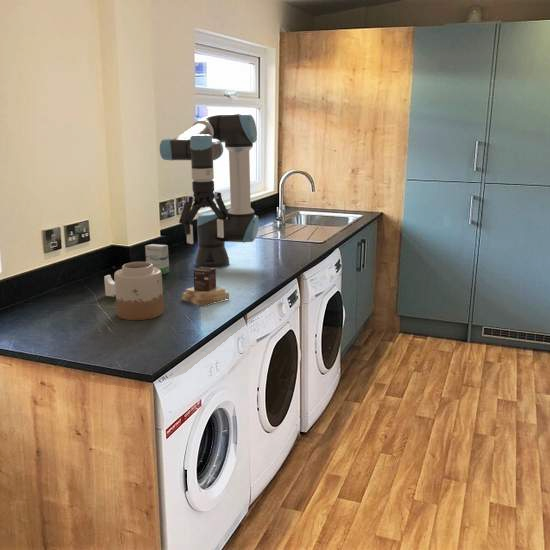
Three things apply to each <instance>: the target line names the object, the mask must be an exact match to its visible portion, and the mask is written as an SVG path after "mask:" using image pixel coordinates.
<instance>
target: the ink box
mask: <svg viewBox="0 0 550 550" xmlns="http://www.w3.org/2000/svg"><path fill="white" fill-rule="evenodd" d="M144 248H145V262H149V263H152V265H153V267H156V268H159V269H160V270H161V273H162V275H166V274H168V273H170V261H169V259H170V258H169V245H167V244H158V243H157V244H156V243H151V244H147V245H144Z"/></svg>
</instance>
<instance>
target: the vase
mask: <svg viewBox="0 0 550 550" xmlns="http://www.w3.org/2000/svg"><path fill="white" fill-rule="evenodd" d="M113 278H114V280H113V281H114V282H115V292H116V296H115V304H116V313H117V315H116V316H117V317H118V318H120V319H122V320H127V321H146V320H151V319H155V318H158V317H160V316H162V315H163V313H164V293H163V292H164V291H163V290H164V289H163V274H162V273H161V270H160V269H159V268H156V267H153V265H152V263H149V262H146V261H132V262H128V263H124V264H123V265H122V266H121V269H117V270H116V271H115V272H114V276H113Z"/></svg>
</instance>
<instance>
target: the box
mask: <svg viewBox="0 0 550 550" xmlns="http://www.w3.org/2000/svg"><path fill="white" fill-rule="evenodd" d="M216 286H217V268H210V267H198V268H195V269H193V287H194V290H200V291H210V290H212V289H214V288H216Z"/></svg>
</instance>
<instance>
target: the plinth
mask: <svg viewBox="0 0 550 550" xmlns="http://www.w3.org/2000/svg"><path fill="white" fill-rule="evenodd" d="M225 299H229V300H230V292H227V291H226V288H223V287H221V286H217V285H216V288H214V289H212V290H210V291H200V290H194V286H192V287H187V288H185V291H184V292H181V300H182V301H185V302H188V303H190V304H194V305H196V304H197V306H199V305H200V306H199V307H202V306H203V307H205V306H204V305H207V306H209V305H208V304H211V303H214V302H218V301H221V300H225ZM218 303H219V302H218ZM214 304H215V303H214ZM211 305H212V304H211Z"/></svg>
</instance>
